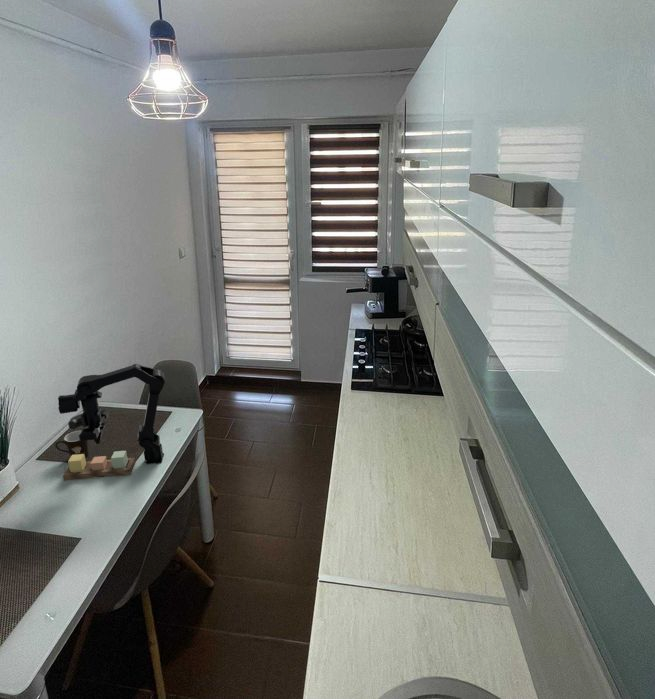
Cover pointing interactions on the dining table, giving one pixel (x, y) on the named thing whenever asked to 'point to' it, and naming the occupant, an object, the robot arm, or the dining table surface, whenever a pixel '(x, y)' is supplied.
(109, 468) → the brown wooden board
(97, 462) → the terracotta cube
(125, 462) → the mint green cube
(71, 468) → the yellow cube
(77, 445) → the coffee mug
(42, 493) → the dining table surface
